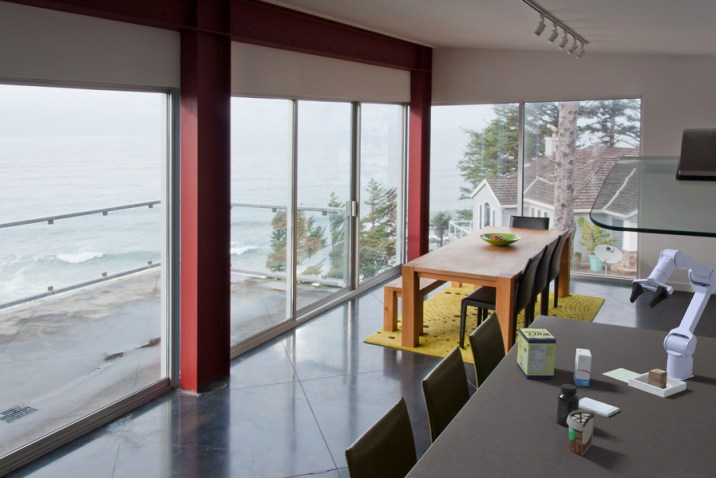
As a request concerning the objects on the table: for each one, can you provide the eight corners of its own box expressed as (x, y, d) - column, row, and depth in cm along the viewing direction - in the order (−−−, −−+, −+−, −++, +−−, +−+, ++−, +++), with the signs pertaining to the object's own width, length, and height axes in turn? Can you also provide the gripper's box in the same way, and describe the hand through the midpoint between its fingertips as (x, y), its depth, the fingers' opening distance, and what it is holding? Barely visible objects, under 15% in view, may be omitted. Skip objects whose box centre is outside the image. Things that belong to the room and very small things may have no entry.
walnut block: (654, 384, 260) (656, 368, 259) (666, 387, 256) (667, 371, 255) (647, 386, 257) (649, 370, 256) (659, 390, 254) (660, 374, 253)
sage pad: (621, 369, 276) (621, 367, 276) (646, 377, 268) (646, 376, 268) (602, 375, 270) (602, 373, 269) (627, 384, 261) (627, 382, 261)
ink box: (590, 387, 257) (592, 355, 255) (575, 386, 258) (577, 354, 256) (587, 379, 265) (589, 348, 263) (573, 377, 266) (575, 347, 264)
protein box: (542, 365, 280) (544, 327, 277) (554, 379, 264) (556, 339, 262) (516, 365, 279) (518, 327, 277) (526, 379, 264) (528, 339, 261)
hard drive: (573, 402, 240) (607, 413, 231) (585, 396, 245) (619, 407, 236) (572, 407, 240) (607, 418, 231) (585, 401, 245) (619, 412, 236)
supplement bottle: (558, 416, 231) (560, 381, 229) (579, 421, 227) (582, 385, 225) (552, 423, 225) (555, 387, 223) (574, 428, 221) (577, 392, 219)
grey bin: (650, 379, 266) (650, 371, 266) (685, 390, 255) (686, 382, 255) (628, 386, 258) (628, 378, 258) (663, 398, 247) (664, 390, 247)
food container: (572, 437, 215) (574, 405, 214) (593, 442, 212) (595, 410, 210) (558, 451, 205) (561, 419, 204) (580, 457, 202) (582, 424, 200)
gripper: (637, 264, 257) (619, 292, 252) (675, 271, 245) (656, 300, 241) (644, 277, 260) (625, 304, 256) (681, 285, 249) (662, 313, 244)
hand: (640, 303), depth 248 cm, fingers open, 7 cm apart
